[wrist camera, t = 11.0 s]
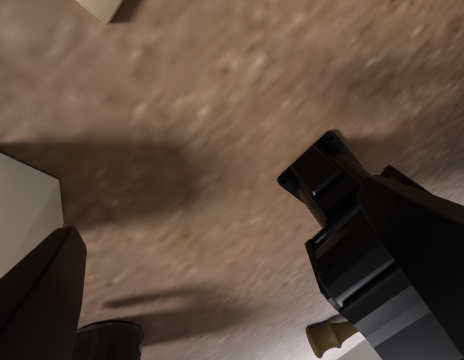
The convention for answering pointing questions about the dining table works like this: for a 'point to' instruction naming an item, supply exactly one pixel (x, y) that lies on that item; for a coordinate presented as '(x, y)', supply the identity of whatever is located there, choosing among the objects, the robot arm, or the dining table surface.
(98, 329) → the milk frother
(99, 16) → the knob on square plate
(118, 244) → the dining table surface
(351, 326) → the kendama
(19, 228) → the jar
